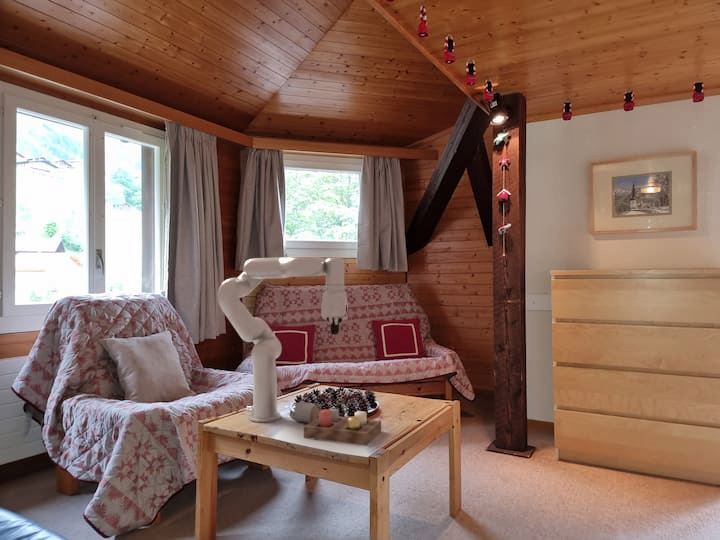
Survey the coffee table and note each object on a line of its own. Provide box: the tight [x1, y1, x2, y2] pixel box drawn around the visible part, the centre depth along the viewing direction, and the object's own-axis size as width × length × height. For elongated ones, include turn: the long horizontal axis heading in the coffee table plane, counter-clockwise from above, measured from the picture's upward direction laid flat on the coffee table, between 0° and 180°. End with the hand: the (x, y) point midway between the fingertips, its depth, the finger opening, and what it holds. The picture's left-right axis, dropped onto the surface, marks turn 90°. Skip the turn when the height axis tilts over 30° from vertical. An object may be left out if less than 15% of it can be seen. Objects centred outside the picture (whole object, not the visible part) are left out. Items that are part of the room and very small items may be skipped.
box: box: [303, 416, 382, 446], centre depth 188 cm, size 24×16×4 cm, turn 70°
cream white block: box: [354, 410, 368, 425], centre depth 189 cm, size 4×4×5 cm
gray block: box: [328, 408, 340, 422], centre depth 193 cm, size 4×4×5 cm
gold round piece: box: [348, 415, 360, 431], centre depth 183 cm, size 4×4×5 cm
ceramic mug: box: [293, 401, 320, 424], centre depth 205 cm, size 11×8×8 cm
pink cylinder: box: [319, 408, 332, 427], centre depth 186 cm, size 4×4×5 cm
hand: (334, 334), depth 206 cm, fingers closed
